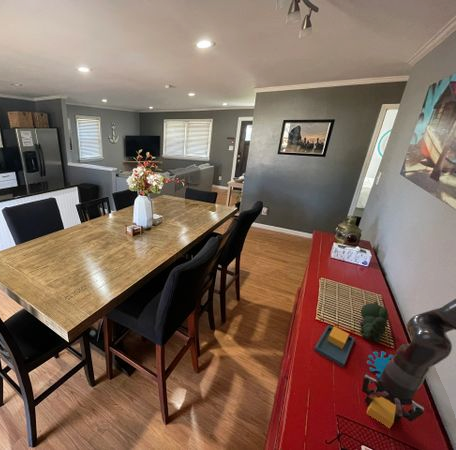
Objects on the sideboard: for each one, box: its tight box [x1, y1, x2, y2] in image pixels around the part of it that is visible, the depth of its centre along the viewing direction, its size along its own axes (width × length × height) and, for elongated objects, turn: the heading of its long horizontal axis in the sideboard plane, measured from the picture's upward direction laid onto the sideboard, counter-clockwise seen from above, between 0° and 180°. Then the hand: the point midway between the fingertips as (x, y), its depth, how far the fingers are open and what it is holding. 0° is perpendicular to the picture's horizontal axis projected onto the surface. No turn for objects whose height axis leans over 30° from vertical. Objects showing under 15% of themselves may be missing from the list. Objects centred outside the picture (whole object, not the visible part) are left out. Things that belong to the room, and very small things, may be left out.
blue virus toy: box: [366, 350, 394, 379], centre depth 90 cm, size 11×6×10 cm
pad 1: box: [327, 326, 350, 349], centre depth 103 cm, size 6×8×3 cm
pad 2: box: [366, 397, 396, 430], centre depth 77 cm, size 6×8×3 cm
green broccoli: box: [359, 301, 389, 344], centre depth 106 cm, size 9×19×25 cm
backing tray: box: [313, 324, 356, 368], centre depth 101 cm, size 10×19×2 cm, turn 132°
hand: (380, 411), depth 77 cm, fingers closed on pad 2, 5 cm apart
